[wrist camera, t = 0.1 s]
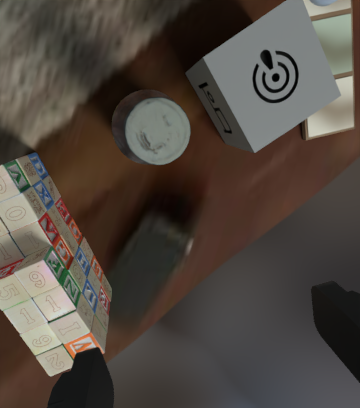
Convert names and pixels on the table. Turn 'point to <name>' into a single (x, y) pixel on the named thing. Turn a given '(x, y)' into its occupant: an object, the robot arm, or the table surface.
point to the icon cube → (265, 78)
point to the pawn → (322, 2)
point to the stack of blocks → (48, 269)
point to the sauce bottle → (150, 127)
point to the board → (334, 67)
